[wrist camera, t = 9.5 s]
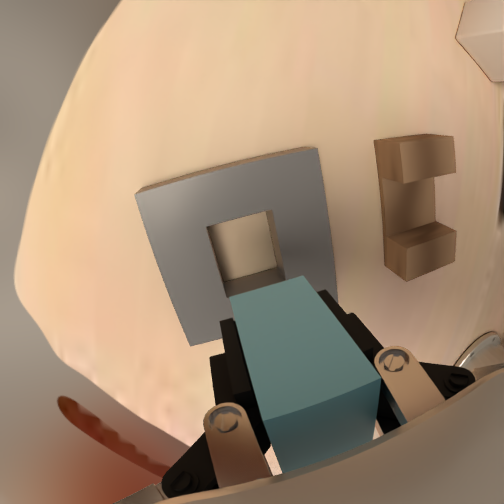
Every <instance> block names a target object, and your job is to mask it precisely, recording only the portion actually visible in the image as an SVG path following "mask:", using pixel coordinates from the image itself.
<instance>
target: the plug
mask: <svg viewBox="0 0 504 504" xmlns="http://www.w3.org/2000/svg"><path fill="white" fill-rule="evenodd" d="M229 298H230V302H231V306H232V310H233V314H234V317H235V321H236V325H237V329H238V333H239V337H240V340H241V344H242V348H243V352H244V355H245V359H246V363H247V367H248V370H249V374H250V378H251V381H252V385H253V388H254V392H255V395H256V399H257V403H258V406H259V410H260V413H261V417H262V420H263V423H264V426H265V428H266V431H267V434H268V436H269V439H270V442H271V444H272V447H273V450H274V452H275V455H276V457H277V460H278V462H279V465H280V468H281V470H282V473H286V472H289V471H292V470H296V469H299V468H302V467H305V466H308V465H311V464H314V463H317V462H320V461H322V460H325V459H328V458H331V457H333V456H336V455H338V454H341V453H343V452H346V451H348V450H351V449H353V448H356V447H358V446H360V445H363V444H365V443H367V442H369V441H372V440H373V435H374V429H375V423H376V416H377V409H378V402H379V393H380V385H381V377H380V375H379V374H378V373H377V371H376V370H375V369H374V367H373V366H372V365H371V363H370V362H369V360H368V359H367V358H366V356H365V355H364V354H363V353H362V351H361V350H360V349H359V347H358V346H357V345H356V343H355V342H354V341H353V339H352V338H351V337H350V335H349V334H348V333H347V331H346V330H345V329H344V327H343V326H342V325H341V323H340V322H339V321H338V320H337V318H336V317H335V316H334V314H333V313H332V312H331V310H330V309H329V308H328V307H327V305H326V304H325V303H324V301H323V300H322V299H321V298H320V296H319V295H318V294H317V292H316V291H315V290H314V289H313V287H312V286H311V285H310V283H309V282H308V281H307V280H306V278H305V277H304V276H299V277H296V278H293V279H289V280H286V281H283V282H279V283H276V284H273V285H269V286H266V287H262V288H259V289H255V290H252V291H248V292H245V293H241V294H238V295H234V296H231V297H229Z"/></svg>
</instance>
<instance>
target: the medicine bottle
mask: <svg viewBox="0 0 504 504" xmlns="http://www.w3.org/2000/svg"><path fill="white" fill-rule="evenodd" d="M456 40H457V41H458V42H459V43H460V44H461V45H462V46H463V47H464V49H465V50H466V51H467V52H468V53H469V54H470V55H471V57H472V58H473V59H474V60H475V61H476V63H477V64H478V65H479V66H480V67H481V69H482V70H483V71H484V73H485V74H486V75H487V76H488V78H489V79H490V80H491V81H493V82H495V81H504V0H471V1H468V2H466V3H465V5H464V9H463V13H462V17H461V20H460V24H459V28H458V31H457V34H456Z"/></svg>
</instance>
